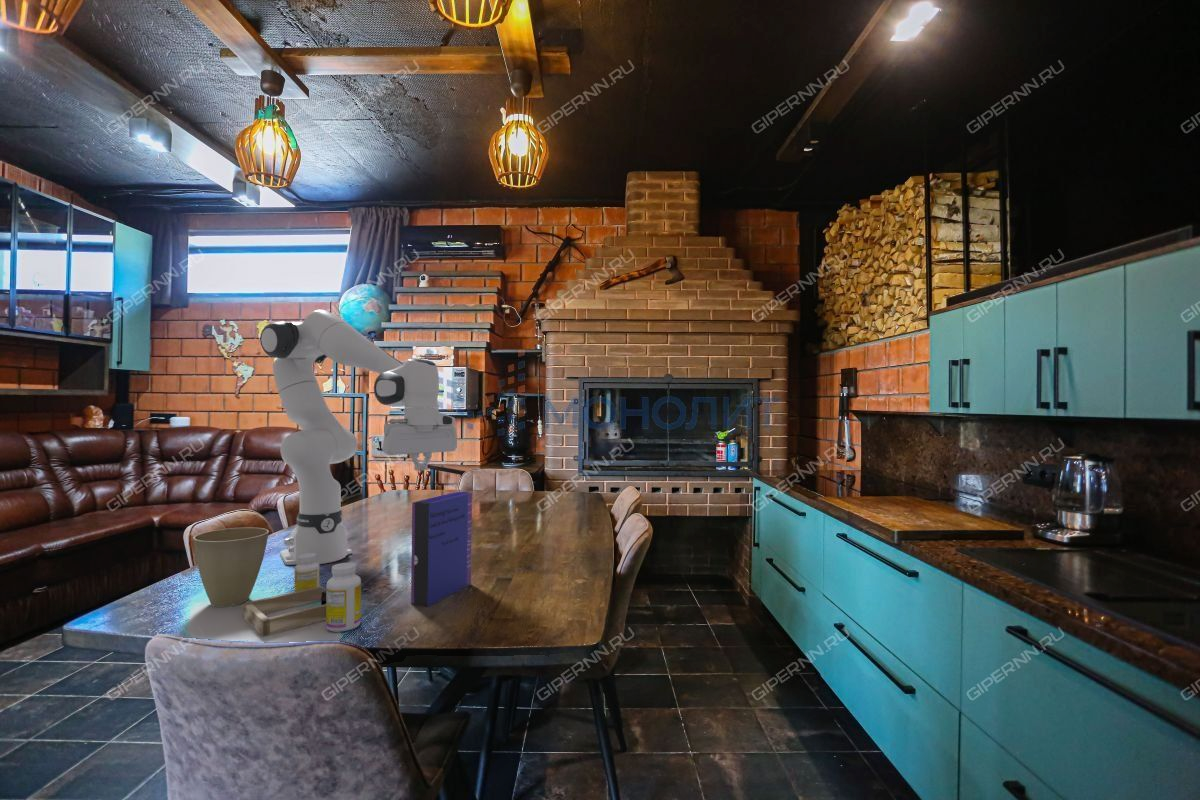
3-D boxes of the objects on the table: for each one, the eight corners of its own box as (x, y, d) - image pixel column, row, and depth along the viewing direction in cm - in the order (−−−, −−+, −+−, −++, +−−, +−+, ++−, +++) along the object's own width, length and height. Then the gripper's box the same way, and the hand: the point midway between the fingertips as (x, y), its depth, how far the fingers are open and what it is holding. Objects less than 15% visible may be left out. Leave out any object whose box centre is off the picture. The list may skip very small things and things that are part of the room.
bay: (242, 616, 122) (243, 603, 122) (320, 598, 134) (320, 586, 134) (263, 636, 112) (263, 621, 112) (345, 614, 124) (345, 601, 124)
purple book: (455, 582, 147) (456, 491, 147) (470, 584, 145) (472, 492, 146) (410, 604, 131) (412, 501, 131) (427, 606, 129) (428, 503, 129)
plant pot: (232, 615, 123) (233, 543, 123) (175, 610, 125) (176, 539, 126) (282, 593, 137) (283, 528, 138) (230, 588, 140) (231, 525, 140)
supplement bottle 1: (302, 591, 139) (302, 551, 139) (323, 591, 139) (324, 552, 139) (289, 598, 133) (290, 557, 133) (311, 599, 133) (312, 558, 133)
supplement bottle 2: (354, 618, 122) (355, 559, 122) (365, 627, 117) (366, 565, 117) (321, 626, 117) (322, 565, 118) (331, 635, 113) (332, 572, 113)
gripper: (389, 419, 141) (389, 474, 140) (460, 418, 155) (460, 468, 155) (378, 418, 145) (378, 472, 145) (448, 418, 160) (447, 466, 160)
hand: (421, 470), depth 150 cm, fingers closed
